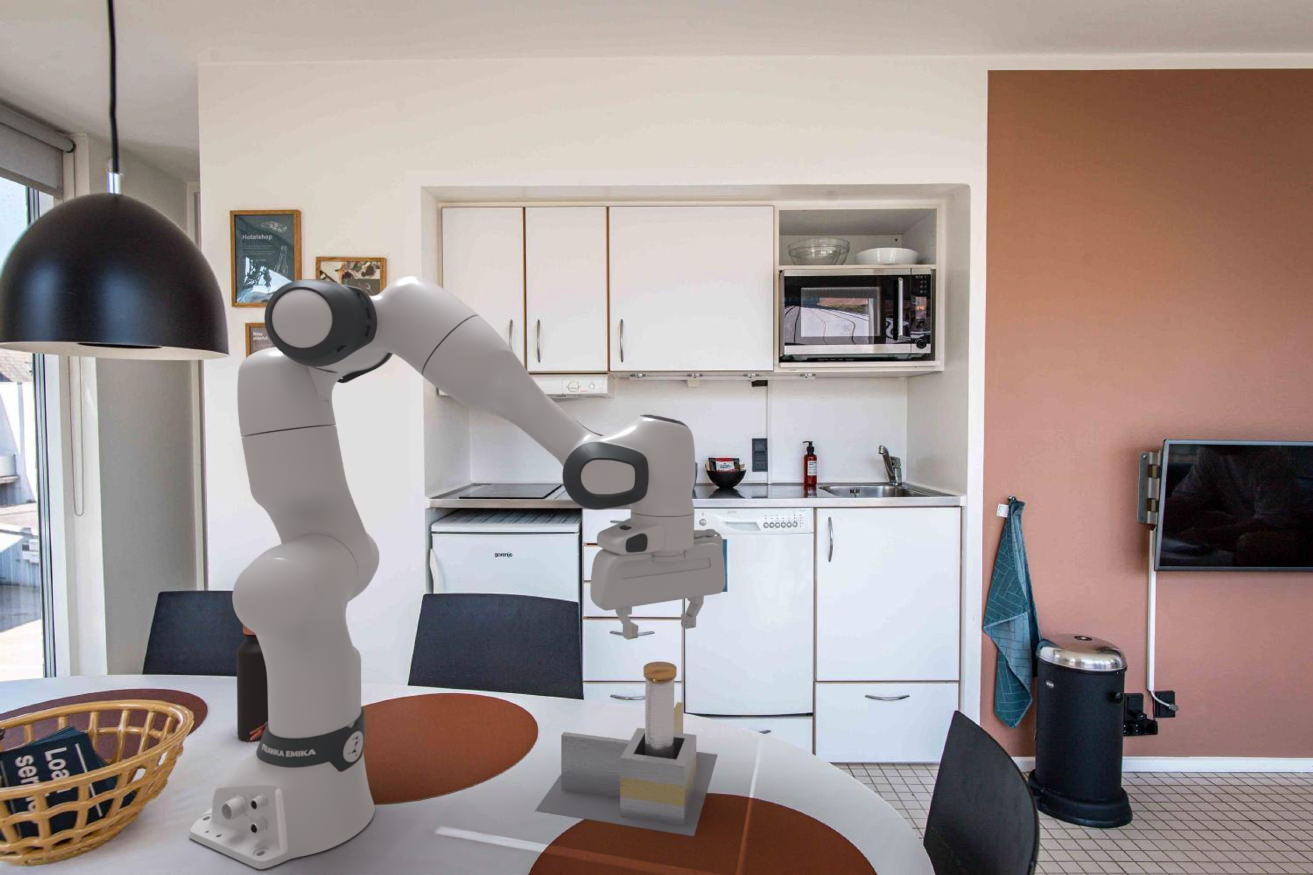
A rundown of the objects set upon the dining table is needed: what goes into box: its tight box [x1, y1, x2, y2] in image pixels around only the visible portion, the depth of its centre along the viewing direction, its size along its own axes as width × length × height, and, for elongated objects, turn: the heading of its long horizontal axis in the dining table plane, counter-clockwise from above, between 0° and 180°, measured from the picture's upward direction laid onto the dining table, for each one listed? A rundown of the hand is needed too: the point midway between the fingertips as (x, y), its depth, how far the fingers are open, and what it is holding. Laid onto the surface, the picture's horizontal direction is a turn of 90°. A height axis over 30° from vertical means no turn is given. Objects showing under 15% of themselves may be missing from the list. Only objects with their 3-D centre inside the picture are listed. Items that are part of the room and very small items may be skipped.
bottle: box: [236, 623, 268, 742], centre depth 112 cm, size 7×7×20 cm
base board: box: [534, 751, 718, 837], centre depth 96 cm, size 22×21×1 cm
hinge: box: [560, 701, 697, 826], centre depth 96 cm, size 19×19×8 cm
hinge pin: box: [643, 661, 678, 759], centre depth 90 cm, size 5×5×19 cm
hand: (660, 632), depth 90 cm, fingers open, 8 cm apart
